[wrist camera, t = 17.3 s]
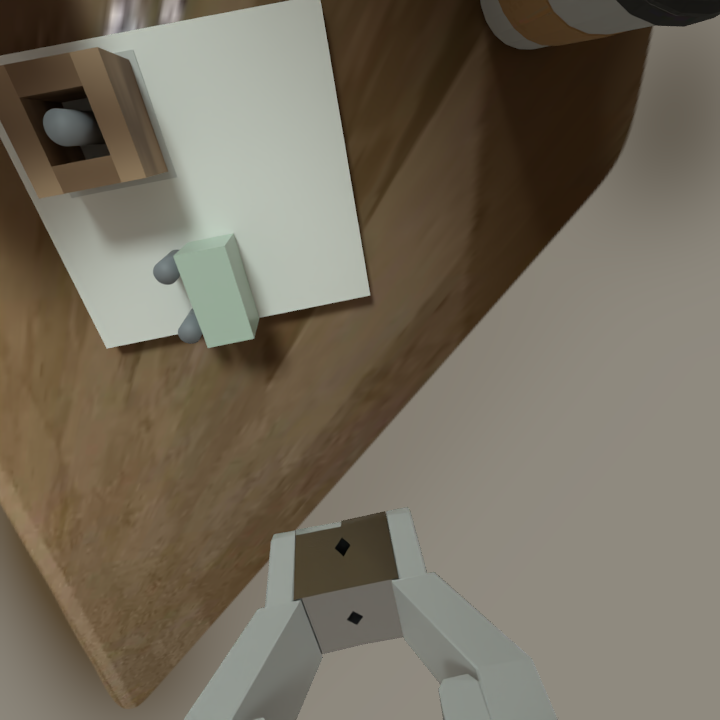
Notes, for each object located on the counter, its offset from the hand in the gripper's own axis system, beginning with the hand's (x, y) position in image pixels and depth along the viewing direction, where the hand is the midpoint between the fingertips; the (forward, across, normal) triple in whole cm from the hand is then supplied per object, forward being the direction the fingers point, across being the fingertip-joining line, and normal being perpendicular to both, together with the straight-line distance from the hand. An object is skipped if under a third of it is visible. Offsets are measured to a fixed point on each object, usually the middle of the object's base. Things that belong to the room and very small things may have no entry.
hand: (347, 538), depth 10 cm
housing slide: (+23, +6, 0) cm, 24 cm away
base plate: (+24, +6, -6) cm, 25 cm away
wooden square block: (+23, +10, -10) cm, 27 cm away
